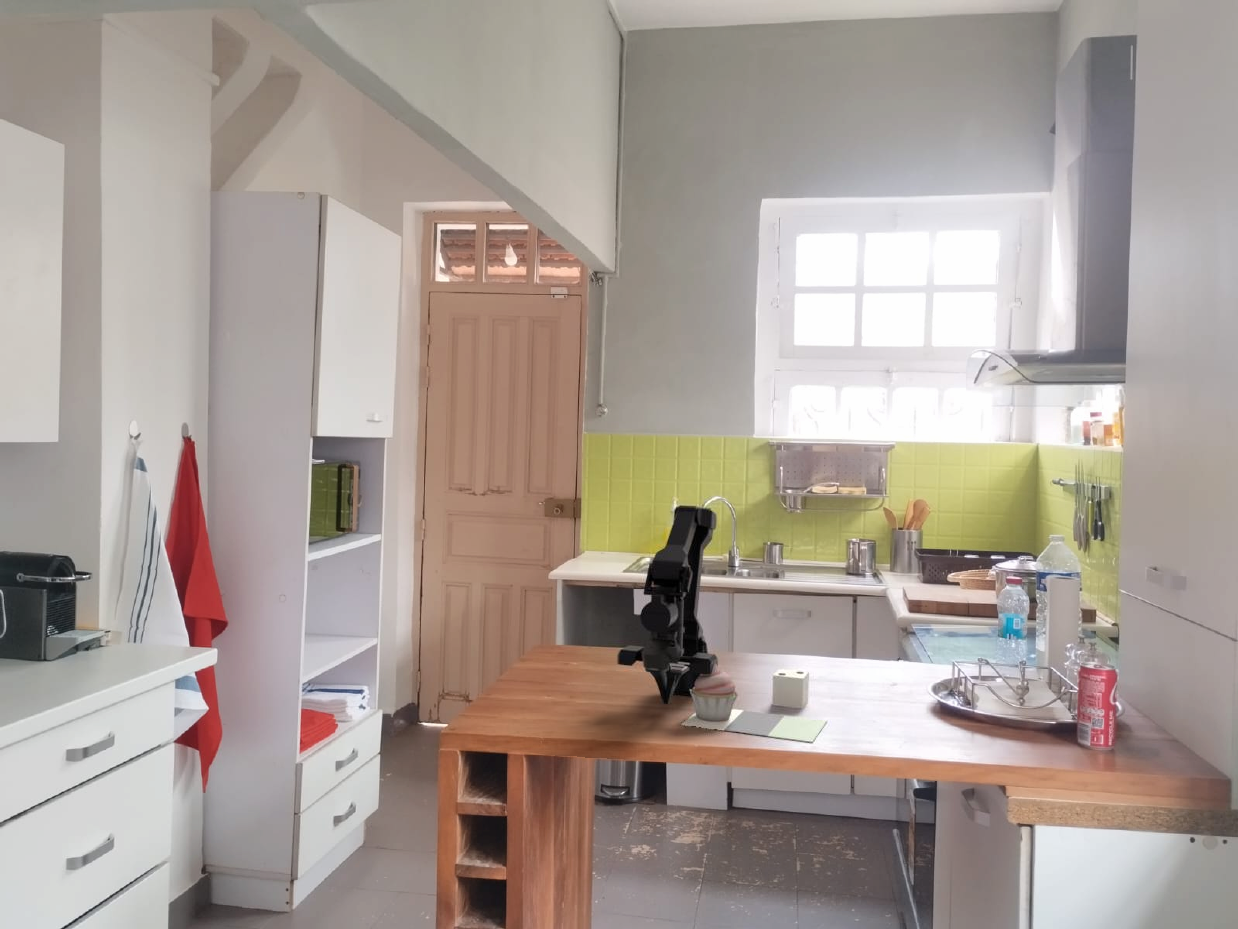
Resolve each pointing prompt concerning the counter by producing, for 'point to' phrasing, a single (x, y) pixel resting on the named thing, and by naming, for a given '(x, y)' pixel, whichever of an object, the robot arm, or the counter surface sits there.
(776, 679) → the white cube
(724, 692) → the cupcake
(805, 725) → the game board
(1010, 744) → the counter surface
